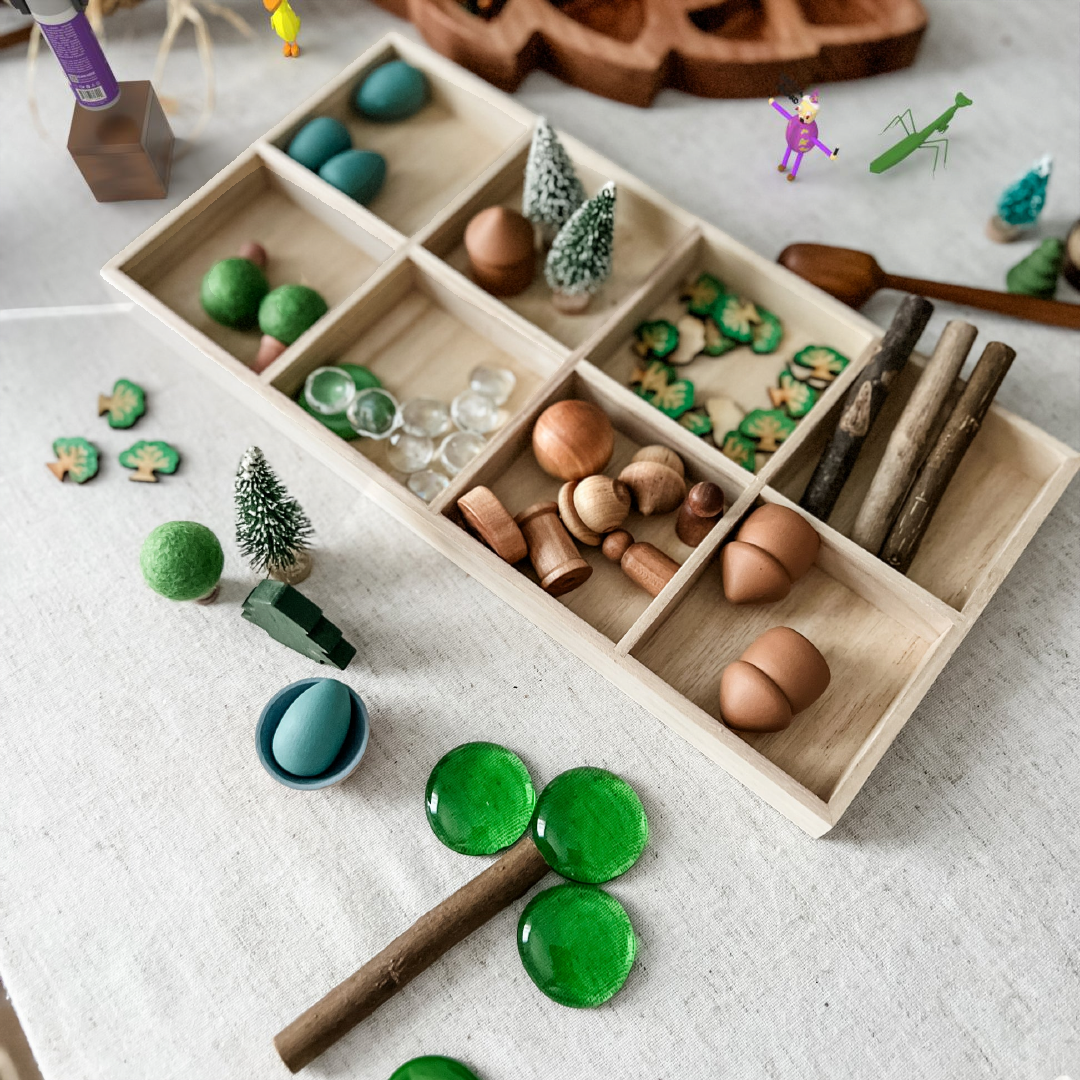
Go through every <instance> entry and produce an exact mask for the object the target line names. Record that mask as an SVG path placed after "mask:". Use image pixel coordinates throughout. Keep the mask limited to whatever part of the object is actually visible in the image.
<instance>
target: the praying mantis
mask: <svg viewBox="0 0 1080 1080" xmlns="http://www.w3.org/2000/svg"><path fill="white" fill-rule="evenodd" d="M963 93H964V92H961V91H959V92H957V93H956V96H955V97H954V102H955V104H954V105H953V106H950V107H949V108H948V109H947V110H946V111H944V112H943V113H942V114H941V115H940V116H938V117H937V118H936V119H935V120H934V121H933V122H931V123H930V124H929V125H927V126H925V127H924V128H923V129H922V130H921V131H920V132H917V131H916V127H915V122H914V119H913V114H912V110H911V108H908V109H906V110H905V112H904V113H903V114H902V115H901V116H900V115H899V114H898V115H897V116H895V117H894V118H893V120H892V121H890V123H889V124H888V125H887V126H886V127H885V128H884V129H883V131H882V133H886V131H887V130H888V128H890V126H891V125H892V124H893V123H894V122H895V121H896V120H897V118H898V120H897V121H896V122H895V124H894V125H893V127H892V128H894V127H895V126H897V124H898V123H899V122H901V124H902V127H903V128H904V130H905V132H906V135H907V136H906V137H905V138H903V139H902V140H900V141H899V142H897V143H896V144H894V145H893V146H891V147H890V148H889V149H887V150H886V151H885V152H884V153H882V154H881V155H880V156H879V157H877V158H876V159H874V160H872V162H870V163H869V173H872V174H878V175H879V174H881V173H883V172H885V171H887V170H888V169H890V168H892V167H894V166H896V165H897V164H899V163H900V162H902V161H903V160H904V159H906V158H907V157H908V156H910V155H911V154H912V153H914V152H915V151H916V150H918V149H928V148H929V149H932V148H935V149H936V154H935V159H934V164H933V165H934V166H933V170H932V172H933V174H932V178H933V179H935V177H934V176H935V171H936V168H937V161H938V154H939V150H940V146H938V145H926V144H931V143H936V142H943V141H945V143H946V144H945V151H944V159H943V160H944V161H943V163H944V164H943V168H944V169H945V171H947V169H946V167H945V166H946V161H947V154H948V146H949V145H948V144H949V139H948V138H941V139H935V140H929V141H926V140H927V139H928V138H929V137H930V136H931V135H932V134H933V133H934V132H935V131H937V133H940V135H943V134H944V133H945V132H946V131H947V130H948V129H949V128H950V125H949V122H950V121H951V120H952V119H953V118H954V116H955V113H956V111H957V110H958V109H959V108H965V107H967V106H968V107H969V106H972V105H973V102H974V101H973V99H969V98H968V97H967V96H965V95H964V94H963ZM907 113H908V114H909V117H910V121H911V125H912V128H913V133H909V130H908V129H907V127H906V124H905V122H904V120H903V118H904V116H905V115H906V114H907ZM882 133H880V134H879V136H880V135H882ZM925 145H926V146H925Z"/></svg>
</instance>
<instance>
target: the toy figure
mask: <svg viewBox="0 0 1080 1080" xmlns="http://www.w3.org/2000/svg"><path fill="white" fill-rule="evenodd" d="M262 1H263V4H264V7H265V8H266V9H267V10H268V11H269V12H273V15H271V16H270V23H271V29H272V31H274V29H275V32H276V34H277V36H278V37H279V38H281V39H282V40H283V41H284V42H285V45H284V46H283V47H282V51H283V56H284V57H289V56H290V55H292V58H297V57H298V55H300V49H299V47H300V46H299V44H297V41H296V39H297V37H298V34H299V32H300V30H301V26H302V21H301V17H300V16H296V15H297V14H296V12H295V11H293V10H292V8H291V6H290V4H289V3H288V0H262ZM289 42H292V43H289ZM292 44H293V45H292Z"/></svg>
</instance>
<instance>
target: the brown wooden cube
mask: <svg viewBox="0 0 1080 1080" xmlns="http://www.w3.org/2000/svg"><path fill="white" fill-rule="evenodd" d="M117 83H118V85H119V87H120V90H121V96H120V99H119V100H118V101H117V103H116V104H114V105H113V106H111V107H110V108H107V109H104V110H99V111H92V110H87V109H85V108H83V107H82V106H81V105H80V104H79V102H78V100H77V99H76V98H75V102H74V106H73V107H74V108H73V113H72V118H71V123H70V128H69V132H68V138H67V144H66V149H67V150H68V152H69V154H70V155H71V158H72V160H73V162H74V163H75V165H76V167H77V168H78V170H79V172H80V174H81V175H82V177H83V179H84V181H85V183H86V184H87V186H88V188H89V189H90V191H91V194H92V195H93V197H94V198H95V200H96V201H97V203H106V202H124V201H126V202H127V201H142V200H143V201H144V200H162V199H163V200H164V199H168V191H169V183H170V175H171V168H172V160H173V151H174V143H175V134H174V131H173V130H172V127H171V125H170V123H169V120H168V118H167V115H166V114H165V111H164V109H163V107H162V104H161V102H160V100H159V98H158V96H157V93H156V91H155V89H154V86H153V84H152V81H151V80H150V79H144V80H122V81H117Z"/></svg>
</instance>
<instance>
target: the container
mask: <svg viewBox="0 0 1080 1080" xmlns="http://www.w3.org/2000/svg"><path fill="white" fill-rule="evenodd" d="M25 1H26V3H27V5H28V7H29V9H30V11H31V13H32V14H31V16H32V18H33V20H34V21H35V23H36V25H37V27H38V29H39V30H40V32H41V34H42V36H43V38H44V40H45V42H46V44H47V46H48V47H49V49H50V52H51V53H52V55H53V57H54V59H55V61H56V63H57V65H58V67H59V68H60V70H61V72H62V74H63V76H64V78H65V79H66V82H67V84H68V85H69V87H70V89H71V91H72V94H73V95H74V97H75V100H76V99H77V100H78V102H79V104H80V105H81V106H82V107H83V108H85V109H87V110H92V111H99V110H104V109H107V108H110V107H111V106H113V105H114V104H116V103H117V101H118V100H119V99H120V96H121V90H120V87H119V85H118V83H117V82H118V81H117V78H116V77H115V74H114V73H113V70H112V68H111V65H110V63H109V61H108V60H107V57H106V55H105V53H104V50H103V49H102V47H101V44H100V42H99V40H98V38H97V36H96V34H95V32H94V30H93V28H92V25H91V23H90V21H89V18H88V17H87V14H86V13H85V12H86V11H85V12H77V11H76V10H75V8H74V6H73V3H72V1H71V0H25Z"/></svg>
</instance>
